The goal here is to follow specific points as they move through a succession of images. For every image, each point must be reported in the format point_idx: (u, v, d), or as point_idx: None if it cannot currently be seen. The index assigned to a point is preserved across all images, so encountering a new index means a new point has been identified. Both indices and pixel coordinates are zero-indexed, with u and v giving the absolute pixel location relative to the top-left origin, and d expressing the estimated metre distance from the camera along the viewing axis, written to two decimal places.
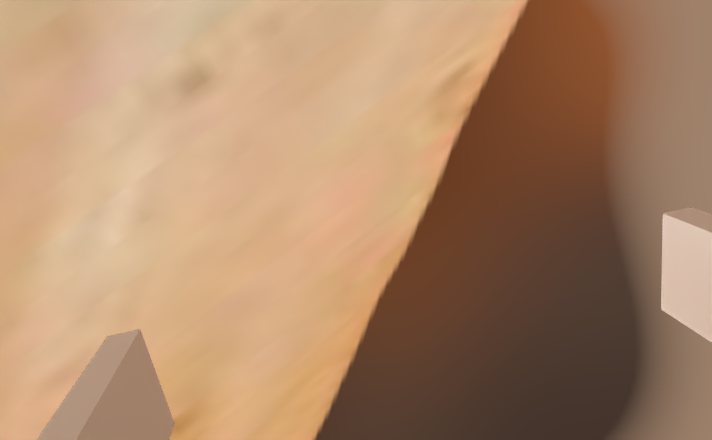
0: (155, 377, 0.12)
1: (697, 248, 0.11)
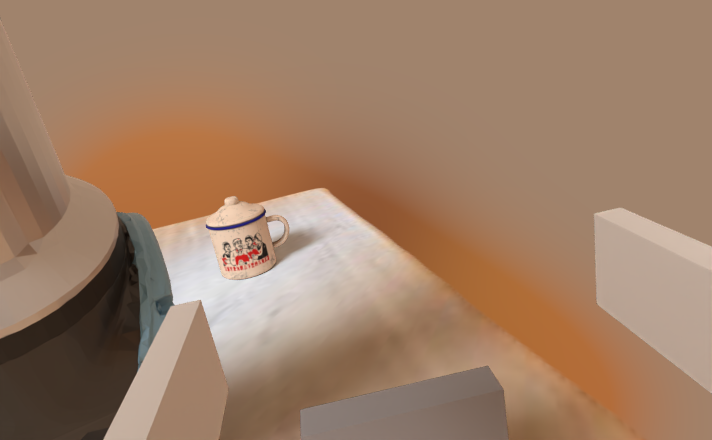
0: (212, 345, 0.13)
1: (621, 246, 0.12)
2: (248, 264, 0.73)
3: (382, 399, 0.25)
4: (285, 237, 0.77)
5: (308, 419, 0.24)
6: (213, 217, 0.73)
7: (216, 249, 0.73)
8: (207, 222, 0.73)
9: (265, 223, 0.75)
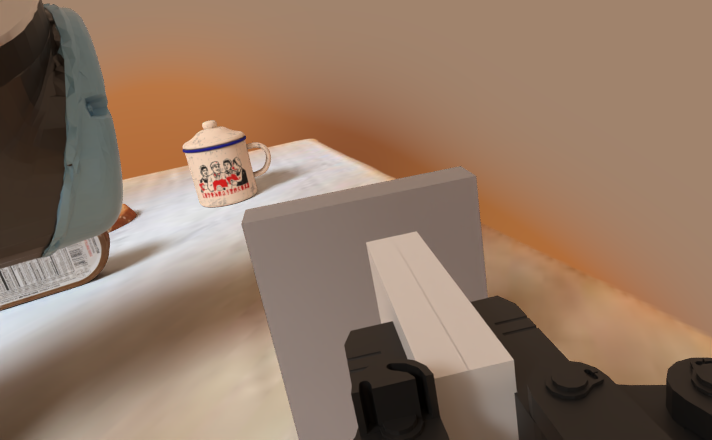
0: None
1: None
2: (226, 190, 0.70)
3: (338, 195, 0.22)
4: (266, 166, 0.74)
5: (253, 213, 0.21)
6: (190, 141, 0.70)
7: (193, 175, 0.70)
8: (184, 146, 0.69)
9: (245, 149, 0.71)
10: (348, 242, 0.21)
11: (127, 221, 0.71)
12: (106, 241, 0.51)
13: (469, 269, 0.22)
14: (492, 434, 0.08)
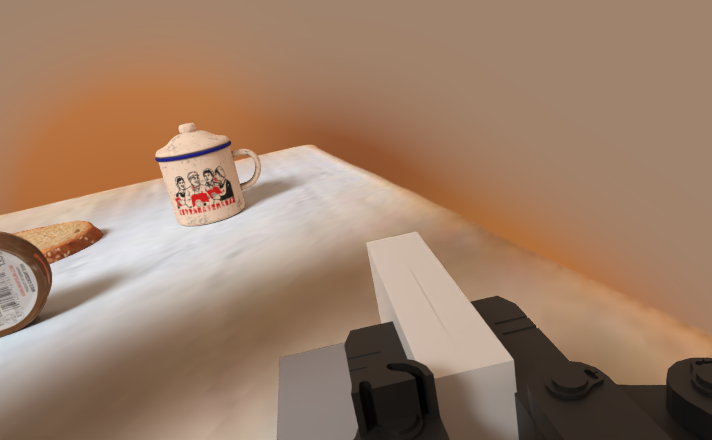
0: None
1: None
2: (208, 206, 0.58)
3: None
4: (256, 176, 0.63)
5: None
6: (164, 147, 0.59)
7: (168, 188, 0.59)
8: (156, 153, 0.58)
9: (230, 157, 0.60)
10: None
11: (90, 242, 0.60)
12: (44, 276, 0.40)
13: None
14: (492, 434, 0.08)
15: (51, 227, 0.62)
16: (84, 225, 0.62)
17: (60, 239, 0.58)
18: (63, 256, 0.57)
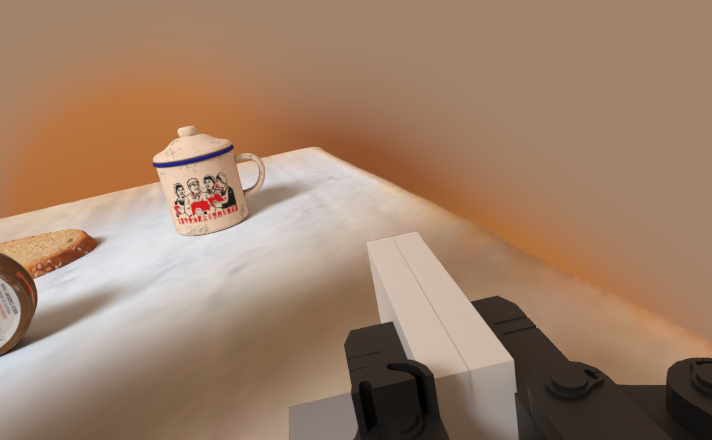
0: None
1: None
2: (208, 214, 0.55)
3: None
4: (260, 182, 0.59)
5: None
6: (162, 152, 0.55)
7: (166, 195, 0.55)
8: (154, 158, 0.55)
9: (232, 162, 0.57)
10: None
11: (83, 253, 0.56)
12: (28, 296, 0.36)
13: None
14: (492, 434, 0.08)
15: (43, 236, 0.59)
16: (78, 234, 0.59)
17: (51, 250, 0.55)
18: (54, 268, 0.53)
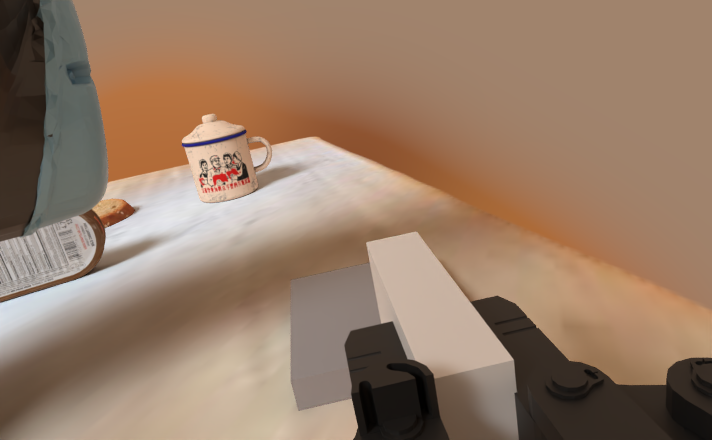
0: None
1: None
2: (226, 185, 0.68)
3: None
4: (267, 161, 0.72)
5: None
6: (189, 135, 0.68)
7: (193, 169, 0.69)
8: (183, 140, 0.68)
9: (245, 143, 0.70)
10: (350, 277, 0.34)
11: (125, 216, 0.70)
12: (101, 234, 0.49)
13: None
14: (492, 434, 0.08)
15: None
16: (119, 202, 0.72)
17: (100, 213, 0.69)
18: (104, 227, 0.67)
